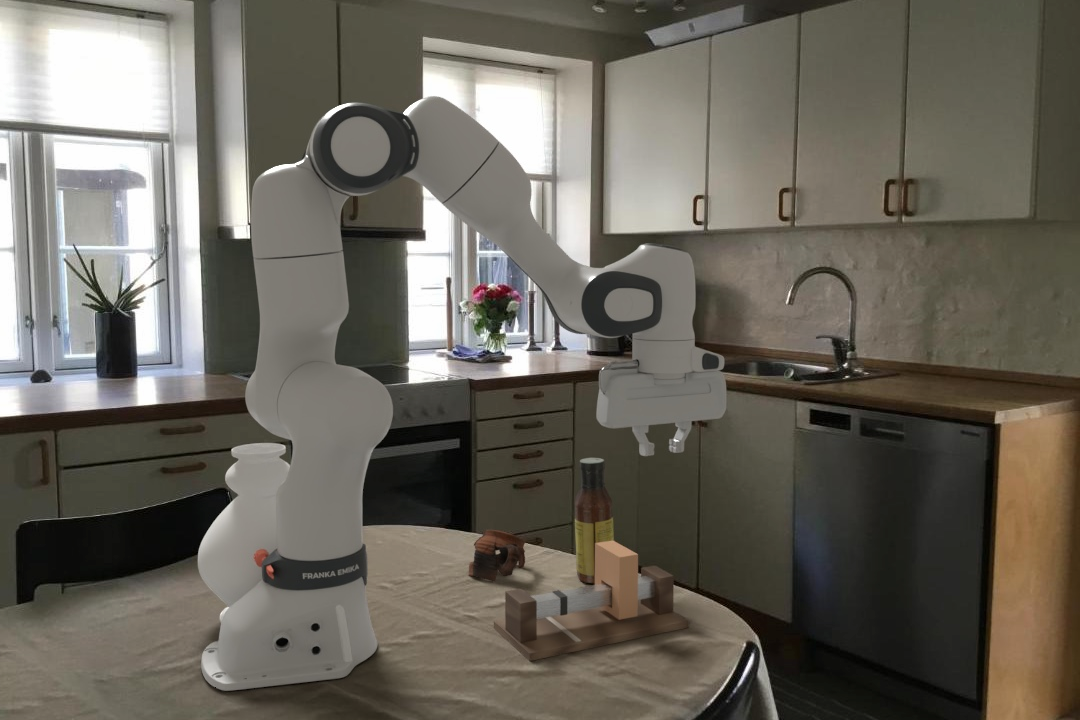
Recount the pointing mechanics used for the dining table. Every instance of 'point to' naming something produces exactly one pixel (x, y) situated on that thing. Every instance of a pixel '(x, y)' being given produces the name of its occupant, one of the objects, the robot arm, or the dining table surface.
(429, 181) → the robot arm
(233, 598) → the decorative vase
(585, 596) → the rod stand
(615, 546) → the collar
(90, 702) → the dining table surface
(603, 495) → the sauce bottle
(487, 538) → the broken clay pot
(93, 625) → the dining table surface
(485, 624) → the dining table surface
